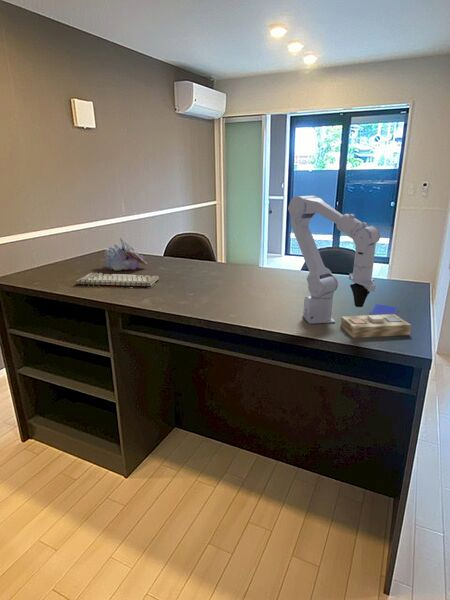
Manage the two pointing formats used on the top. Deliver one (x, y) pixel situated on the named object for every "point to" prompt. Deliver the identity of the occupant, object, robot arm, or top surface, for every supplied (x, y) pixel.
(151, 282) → the mechanical keyboard
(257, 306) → the top surface
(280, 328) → the top surface
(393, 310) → the hard drive
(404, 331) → the key panel
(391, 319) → the slate key
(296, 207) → the robot arm
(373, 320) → the white key
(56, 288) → the top surface
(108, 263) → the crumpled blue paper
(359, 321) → the terracotta key
